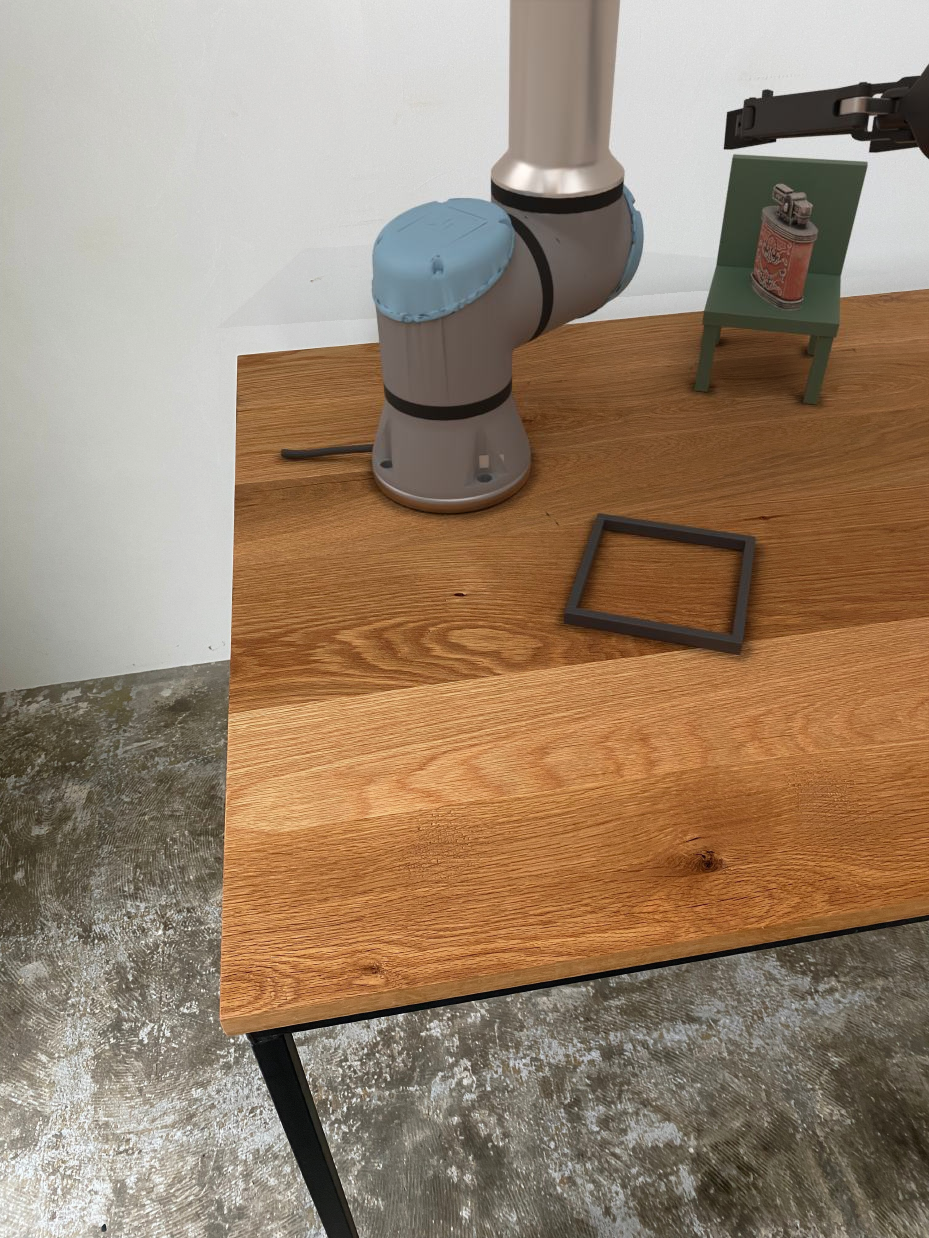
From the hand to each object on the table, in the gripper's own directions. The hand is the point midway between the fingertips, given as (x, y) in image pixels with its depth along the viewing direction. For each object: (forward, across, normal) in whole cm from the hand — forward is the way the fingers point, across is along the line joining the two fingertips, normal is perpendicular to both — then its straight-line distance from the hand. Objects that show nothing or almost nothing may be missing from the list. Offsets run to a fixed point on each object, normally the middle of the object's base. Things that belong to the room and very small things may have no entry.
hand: (803, 133), depth 77 cm
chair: (+18, +9, -22) cm, 29 cm away
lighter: (+14, +8, -14) cm, 21 cm away
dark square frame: (-10, -15, -34) cm, 39 cm away
